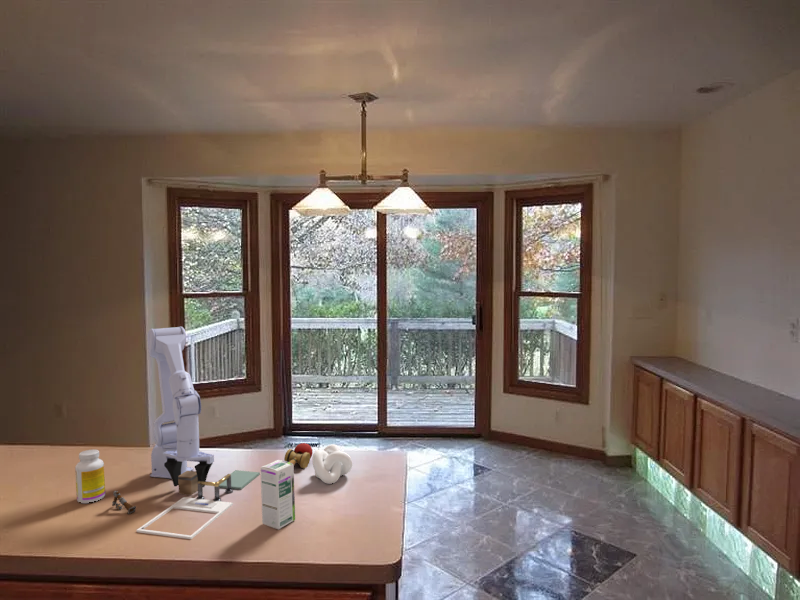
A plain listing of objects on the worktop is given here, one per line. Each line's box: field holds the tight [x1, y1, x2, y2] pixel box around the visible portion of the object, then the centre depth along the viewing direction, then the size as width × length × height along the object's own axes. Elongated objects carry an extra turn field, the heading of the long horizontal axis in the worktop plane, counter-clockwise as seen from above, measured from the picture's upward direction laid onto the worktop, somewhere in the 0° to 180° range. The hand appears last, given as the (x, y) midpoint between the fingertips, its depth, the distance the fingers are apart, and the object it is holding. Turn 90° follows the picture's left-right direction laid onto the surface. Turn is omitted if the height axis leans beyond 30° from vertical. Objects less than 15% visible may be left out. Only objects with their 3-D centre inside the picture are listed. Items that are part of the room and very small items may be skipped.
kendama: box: [283, 442, 314, 469], centre depth 164 cm, size 8×6×18 cm
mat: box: [219, 469, 261, 490], centre depth 155 cm, size 8×11×1 cm
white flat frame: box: [136, 496, 234, 540], centre depth 133 cm, size 15×1×18 cm
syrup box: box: [259, 459, 296, 530], centre depth 130 cm, size 6×6×14 cm
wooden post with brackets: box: [111, 490, 137, 515], centre depth 137 cm, size 2×8×4 cm, turn 61°
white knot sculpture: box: [311, 443, 353, 485], centre depth 156 cm, size 11×12×9 cm
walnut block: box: [178, 470, 198, 496], centre depth 148 cm, size 4×4×5 cm
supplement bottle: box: [74, 449, 106, 504], centre depth 143 cm, size 7×7×13 cm
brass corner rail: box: [196, 473, 234, 501], centre depth 145 cm, size 7×8×5 cm
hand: (189, 486), depth 148 cm, fingers open, 7 cm apart
